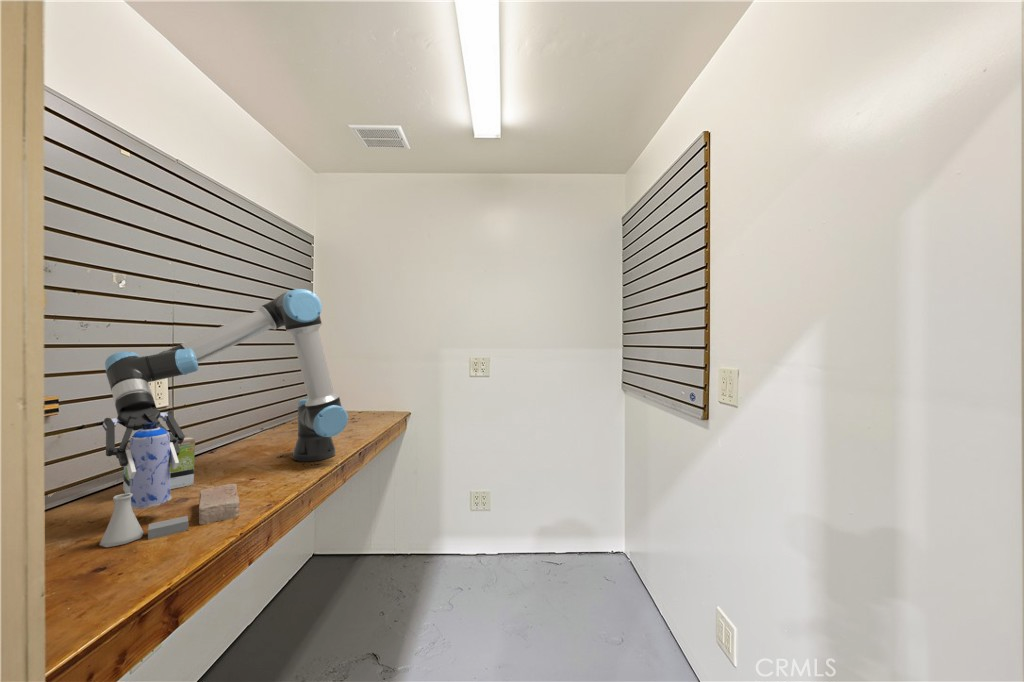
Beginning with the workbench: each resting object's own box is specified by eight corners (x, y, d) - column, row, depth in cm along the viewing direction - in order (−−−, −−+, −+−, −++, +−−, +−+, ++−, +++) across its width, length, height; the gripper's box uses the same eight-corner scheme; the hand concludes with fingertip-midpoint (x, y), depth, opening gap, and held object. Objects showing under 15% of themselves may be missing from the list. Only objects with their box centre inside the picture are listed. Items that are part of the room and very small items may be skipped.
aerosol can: (176, 500, 101) (175, 421, 101) (135, 511, 94) (134, 427, 94) (164, 493, 105) (164, 418, 105) (124, 504, 98) (123, 423, 98)
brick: (239, 518, 101) (240, 499, 101) (198, 527, 96) (198, 507, 96) (236, 498, 115) (236, 482, 115) (199, 505, 109) (199, 488, 109)
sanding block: (187, 525, 97) (187, 515, 97) (188, 531, 94) (188, 521, 94) (148, 534, 92) (148, 524, 92) (147, 541, 89) (148, 530, 89)
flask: (141, 529, 94) (141, 487, 95) (146, 539, 90) (147, 494, 90) (97, 541, 89) (98, 496, 89) (101, 551, 84) (101, 504, 84)
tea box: (128, 499, 113) (129, 447, 113) (122, 491, 119) (123, 442, 119) (194, 485, 124) (195, 438, 125) (186, 478, 131) (186, 433, 131)
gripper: (178, 403, 117) (200, 468, 108) (76, 415, 100) (93, 492, 91) (184, 386, 114) (208, 451, 105) (81, 395, 97) (99, 473, 88)
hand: (155, 470), depth 98 cm, fingers closed on aerosol can, 7 cm apart
